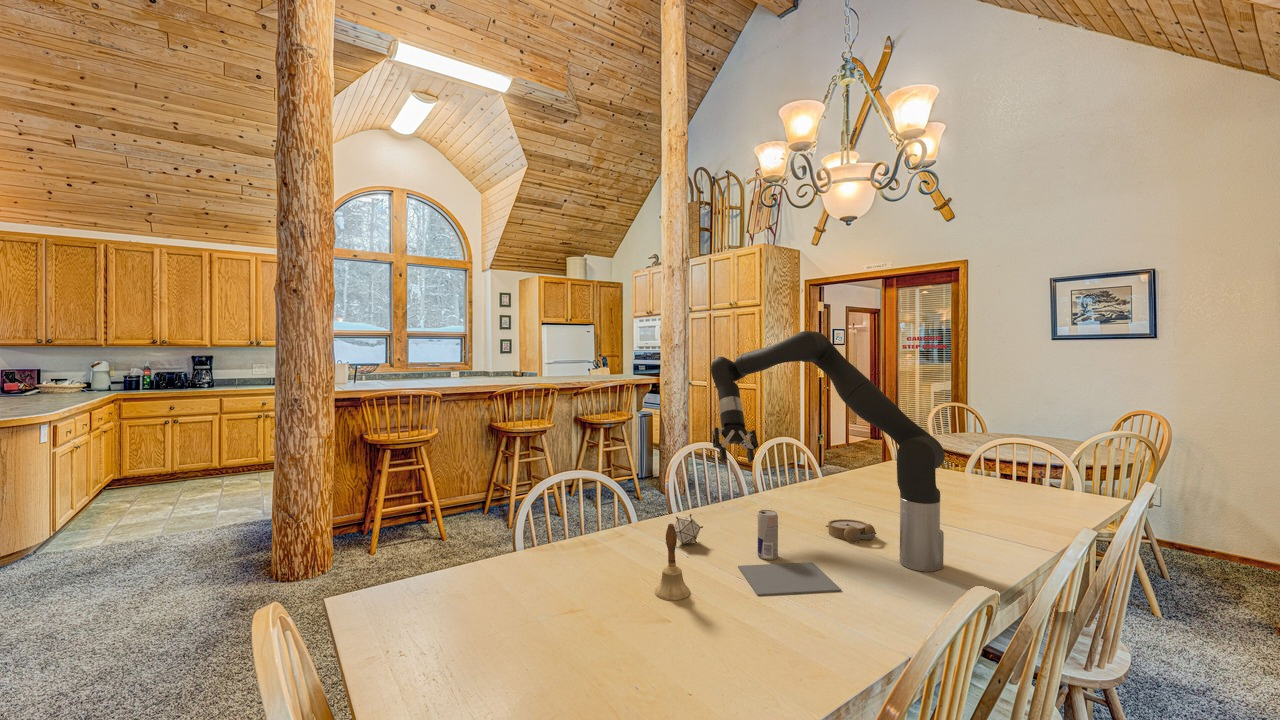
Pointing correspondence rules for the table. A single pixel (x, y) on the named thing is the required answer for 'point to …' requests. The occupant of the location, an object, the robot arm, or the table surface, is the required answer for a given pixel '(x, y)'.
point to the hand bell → (672, 573)
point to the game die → (687, 530)
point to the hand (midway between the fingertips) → (737, 461)
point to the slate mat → (787, 578)
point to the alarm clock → (851, 530)
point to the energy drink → (767, 534)
